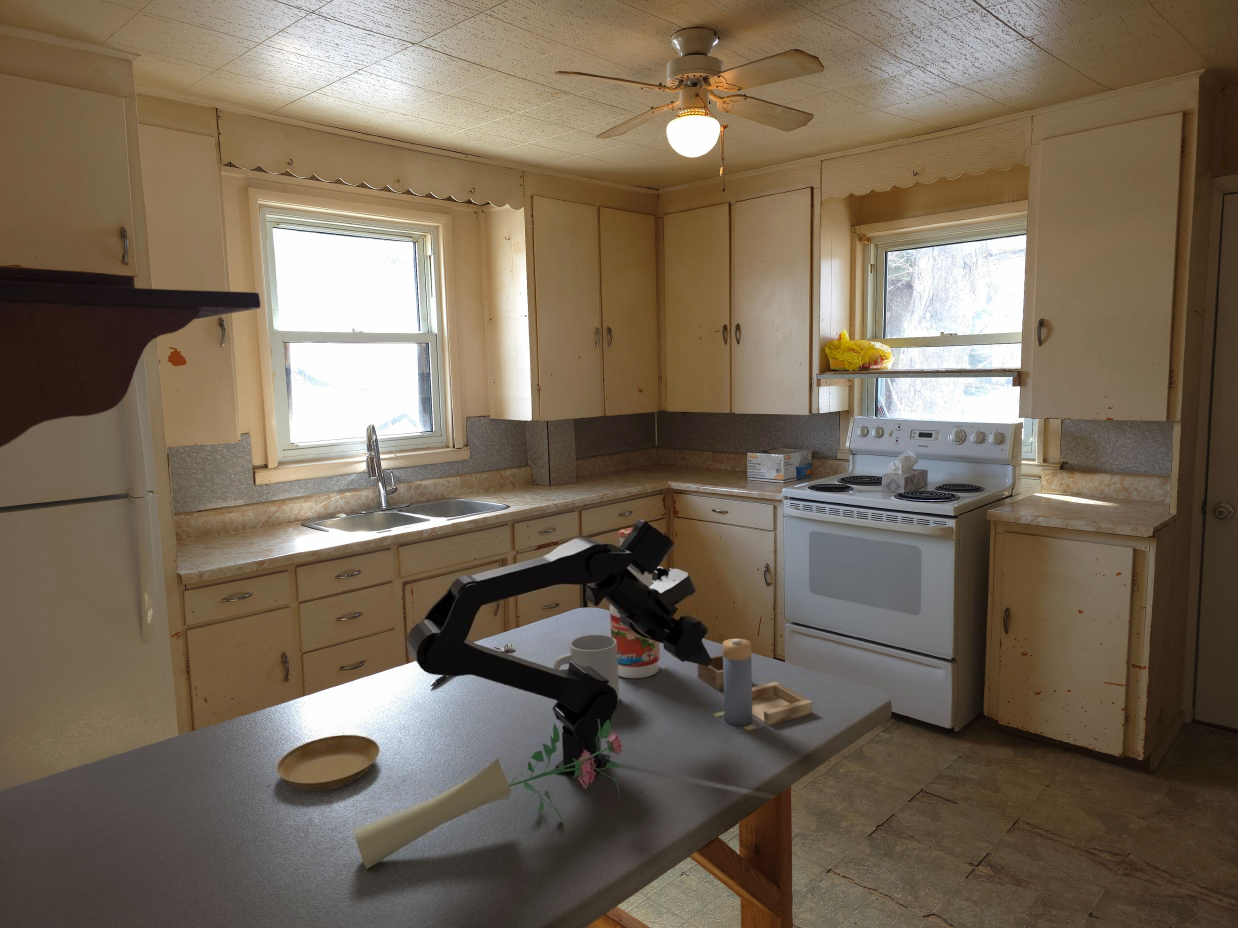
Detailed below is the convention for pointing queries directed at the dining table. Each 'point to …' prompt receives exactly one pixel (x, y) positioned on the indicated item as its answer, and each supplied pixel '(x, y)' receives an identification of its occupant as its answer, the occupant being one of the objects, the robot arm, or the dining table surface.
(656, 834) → the dining table surface
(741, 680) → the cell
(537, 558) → the robot arm
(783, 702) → the light wooden tray
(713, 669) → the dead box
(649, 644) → the fruit juice
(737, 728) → the pad
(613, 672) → the mug
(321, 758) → the plant saucer
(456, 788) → the flower vase
